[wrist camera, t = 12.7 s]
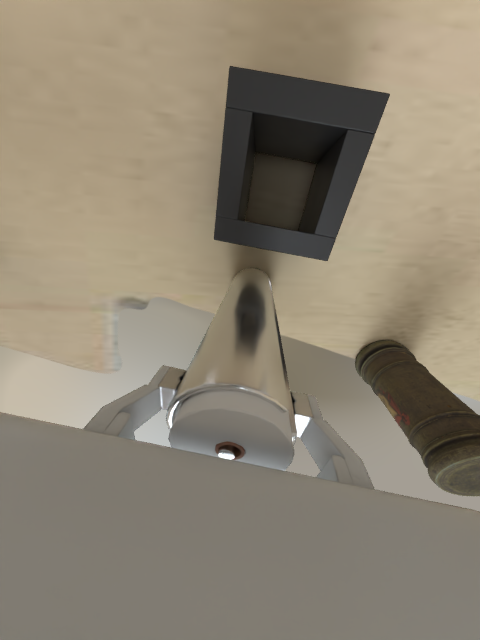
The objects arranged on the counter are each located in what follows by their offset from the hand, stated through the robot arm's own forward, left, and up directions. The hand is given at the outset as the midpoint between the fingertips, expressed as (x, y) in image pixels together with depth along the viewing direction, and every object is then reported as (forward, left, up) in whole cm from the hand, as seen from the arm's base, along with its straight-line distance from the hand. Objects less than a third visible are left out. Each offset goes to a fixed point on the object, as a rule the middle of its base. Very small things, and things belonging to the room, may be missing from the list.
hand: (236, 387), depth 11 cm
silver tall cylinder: (0, 0, -21) cm, 21 cm away
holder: (-13, +1, -21) cm, 25 cm away
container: (+9, +26, -21) cm, 35 cm away
